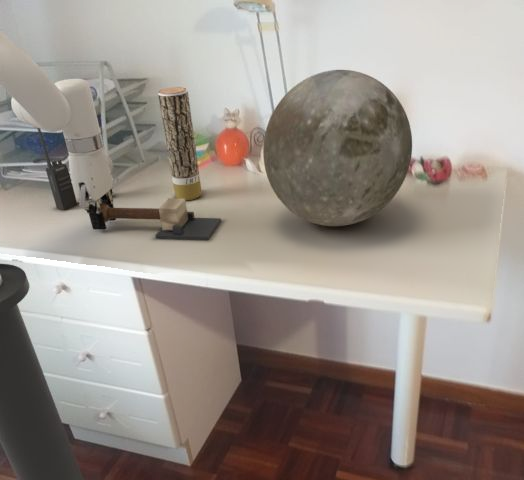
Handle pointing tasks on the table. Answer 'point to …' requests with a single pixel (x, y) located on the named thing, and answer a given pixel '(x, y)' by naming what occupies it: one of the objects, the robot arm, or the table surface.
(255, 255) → the table surface
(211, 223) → the stand
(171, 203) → the mallet
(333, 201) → the globe
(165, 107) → the paper tube
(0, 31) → the robot arm
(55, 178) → the walkie-talkie
